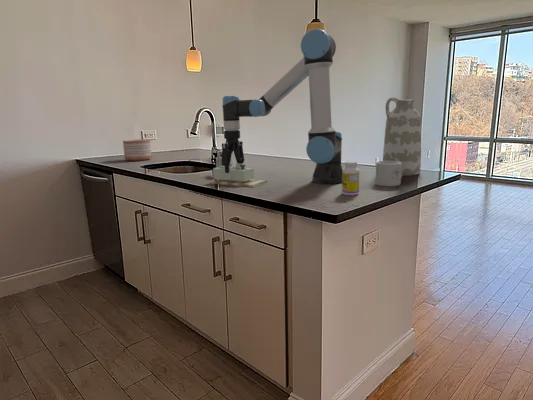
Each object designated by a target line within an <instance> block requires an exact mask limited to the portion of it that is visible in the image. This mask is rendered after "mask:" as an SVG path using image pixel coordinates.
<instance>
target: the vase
mask: <svg viewBox="0 0 533 400" xmlns="http://www.w3.org/2000/svg"><path fill="white" fill-rule="evenodd" d="M391 102H394V103H395V108H393V109H392V110H390V104H391ZM414 102H415V99H399V98H397V97H394V96H392V97H389V98H388V99H387V101H386V103H385V115H386V120H385V121H386V122H385V129H384V140H383V154H382V161H398V162H401V163H402V177H409V176H410V177H412V176H418V175H420V173H421V168H422V167H421V166H422V165H421V164H422V163H421V162H422V118H421V117H422V116H421V114H420V113H419V111H418V110H417V109H415V108H414V107H413V106H414V105H413V104H414Z"/></svg>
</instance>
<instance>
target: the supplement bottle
mask: <svg viewBox="0 0 533 400" xmlns="http://www.w3.org/2000/svg"><path fill="white" fill-rule="evenodd" d="M342 169H343V170H342V182H341V193H342V194H343V195H345V196H357V195H359V193H360V169H359V168H358V162H357V161H354V160H352V161H351V160H349V161H344V168H342Z"/></svg>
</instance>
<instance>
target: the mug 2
mask: <svg viewBox="0 0 533 400" xmlns="http://www.w3.org/2000/svg"><path fill="white" fill-rule="evenodd" d="M402 178H403V176H402V163H401V162H398V161H383V160H380V161H377V162H376V163H375V180H374V184H375V185H376V186H379V187H388V188H389V187H399V186H401V183H402V180H401V179H402Z"/></svg>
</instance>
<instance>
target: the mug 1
mask: <svg viewBox="0 0 533 400" xmlns="http://www.w3.org/2000/svg"><path fill="white" fill-rule="evenodd" d="M215 161H216V162H215V168H217V167H222V166H223V165H222V164H221V163H222V155H221V154H220V152H217V156H216V160H215ZM230 166H231V167H233V161H232V159H231V160H230Z"/></svg>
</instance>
